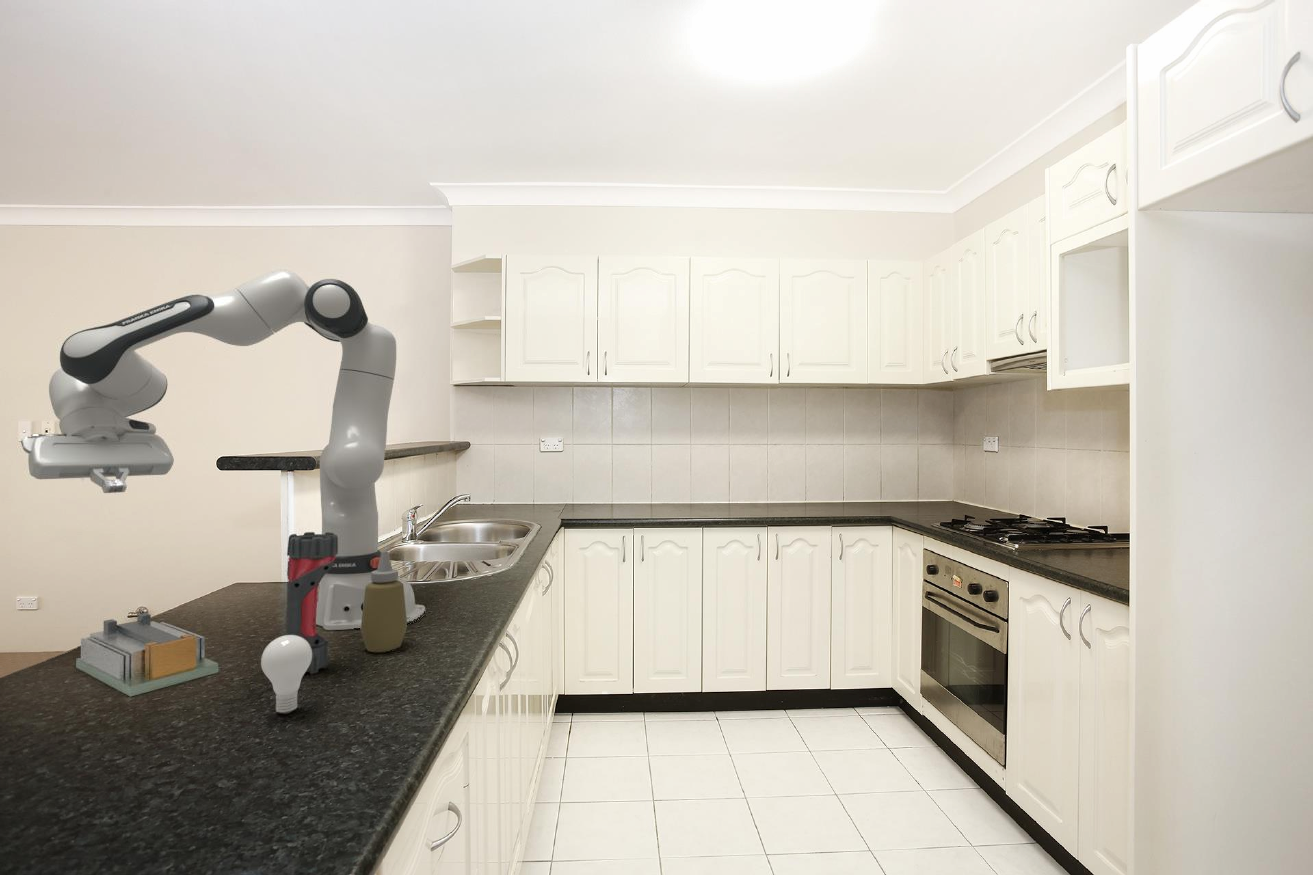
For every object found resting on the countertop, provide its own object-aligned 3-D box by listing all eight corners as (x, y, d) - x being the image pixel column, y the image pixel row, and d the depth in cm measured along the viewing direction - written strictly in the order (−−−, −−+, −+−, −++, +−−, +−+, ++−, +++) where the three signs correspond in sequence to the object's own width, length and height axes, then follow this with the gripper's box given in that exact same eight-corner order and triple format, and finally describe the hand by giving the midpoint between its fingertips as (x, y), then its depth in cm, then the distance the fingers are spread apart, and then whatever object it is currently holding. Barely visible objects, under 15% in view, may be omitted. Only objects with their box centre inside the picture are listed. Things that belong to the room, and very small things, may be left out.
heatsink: (76, 667, 109) (76, 623, 109) (160, 648, 119) (160, 607, 119) (130, 696, 97) (130, 646, 97) (218, 672, 108) (218, 627, 108)
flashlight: (346, 664, 112) (347, 532, 112) (310, 680, 104) (311, 538, 104) (311, 659, 114) (312, 529, 114) (272, 674, 107) (274, 536, 107)
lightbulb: (289, 724, 89) (289, 644, 89) (249, 720, 90) (250, 641, 90) (321, 705, 95) (322, 630, 95) (284, 701, 96) (284, 627, 96)
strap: (115, 630, 112) (115, 624, 112) (136, 625, 114) (136, 620, 114) (160, 649, 102) (160, 643, 102) (181, 644, 105) (181, 638, 105)
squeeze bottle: (361, 658, 115) (362, 557, 115) (359, 644, 122) (359, 549, 122) (409, 651, 119) (410, 553, 119) (404, 639, 126) (405, 546, 126)
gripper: (23, 421, 110) (42, 481, 105) (164, 424, 128) (186, 475, 123) (14, 447, 113) (32, 507, 108) (154, 446, 130) (175, 497, 125)
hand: (115, 490), depth 115 cm, fingers closed
